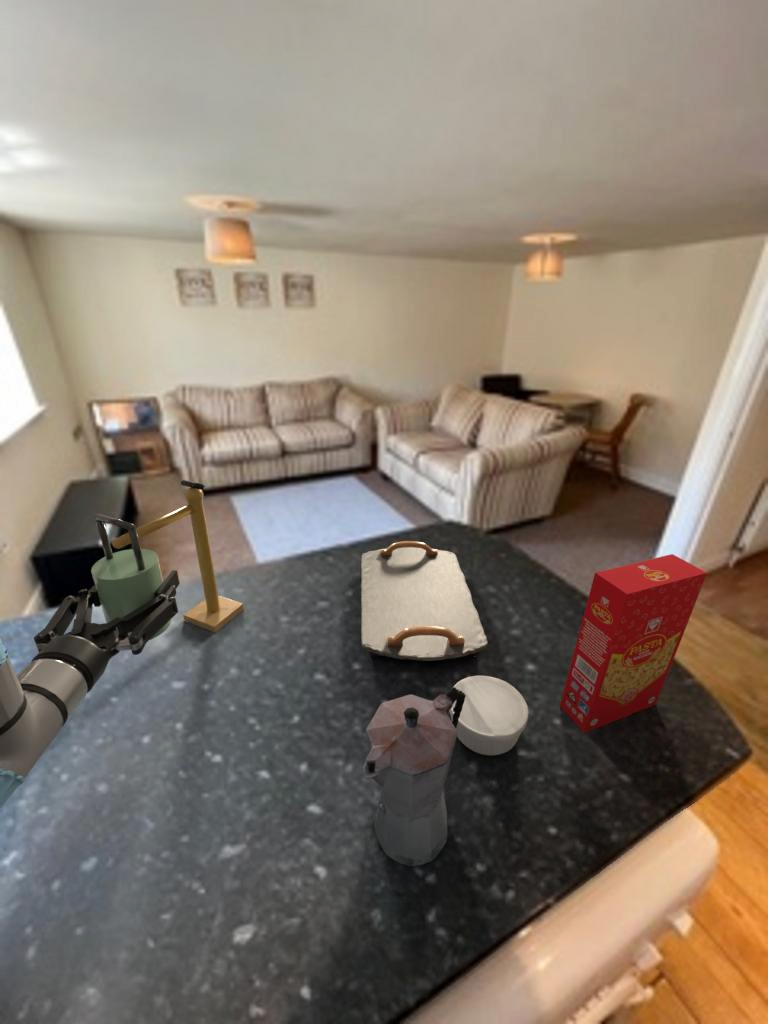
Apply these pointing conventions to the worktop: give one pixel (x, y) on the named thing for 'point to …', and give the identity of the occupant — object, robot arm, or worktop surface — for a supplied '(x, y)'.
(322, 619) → the worktop surface
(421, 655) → the serving tray
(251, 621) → the worktop surface
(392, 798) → the moka pot
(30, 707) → the robot arm
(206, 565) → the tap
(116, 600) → the green hanging weight
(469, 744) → the ramekin
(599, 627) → the food packaging
